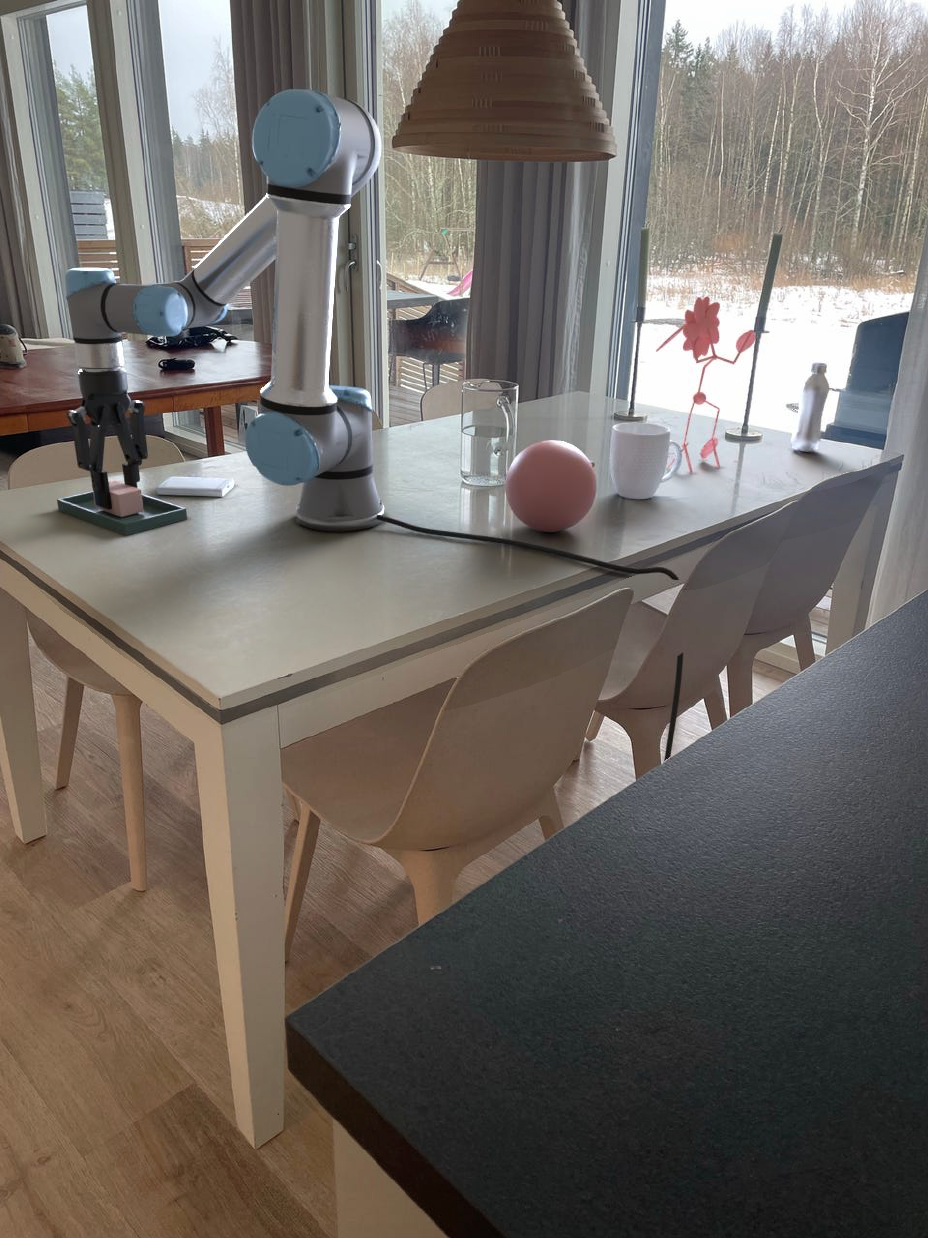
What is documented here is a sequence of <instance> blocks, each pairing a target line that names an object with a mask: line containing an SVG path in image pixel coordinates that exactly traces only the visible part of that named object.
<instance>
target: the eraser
mask: <svg viewBox="0 0 928 1238" xmlns="http://www.w3.org/2000/svg"><path fill="white" fill-rule="evenodd" d="M108 482H109V490H110V497H111V504H112V509H105V508H102V507H100V506H99V500H98V493H97V490H94V489H93V487H92V486H91V489H92V491H93V496H94V503H95V508H98V509H101V510H103V511H106V512H109V513H111V514H114V515H117V516H119V517H124V516H127V515H131V514H135V513H139V512H143V511H144V510H143V502H142V494H143V493H142V489H140V488H138V487H137V488H135V487H132V486H129V485H126V484H125V483H123V482H120V481H117V480H112V481H111V480H110V481H108Z"/></svg>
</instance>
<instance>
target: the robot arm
mask: <svg viewBox="0 0 928 1238" xmlns="http://www.w3.org/2000/svg"><path fill="white" fill-rule="evenodd" d="M252 150H253V154H254V158H255V160H256V163H257V164H258V165H259V166H260V168H261V172H262V173H263V174H264V175H265V176H266V195H265V196H264V197H263V198H262V199H261V200H260V201H259V202H258V203H257V204H256V205H255V206H254V207H253V208H252V209H251V210H250V211H249V212H248V213H247V214H246V215H245V216H243V218H242V219H241V220H240V221H239V222H238V223H237V224H236V225H235V226H234V227H233V228H232V229H231V230H230V231H229V232H228V233H227V234H226V235H225V236H224V237H223V238H222V239H221V240H220V241H219V242H218V243H217V244H216V245H215V246H214V247H213V248H212V249H211V250H210V251H209V252H208V253H207V254H206V255H205V256H204V257H203V258H202V260H200V261H199V263H197V264H196V265H195V267H194V268H193V269H192V270H190V272H188V274H187V275H185V276H184V277H183V279H181V280H176V281H168V282H157V283H148V284H147V283H146V284H135V283H133V284H132V283H128V284H127V283H118V282H117V280H116V277H115V273H114V271H113V270H112V269H110V268H103V267H102V268H101V267H77V268H76V267H75V268H70V269H68V270H67V271H66V272H65V275H64V279H65V281H64V282H65V299H66V304H67V307H68V313H69V319H70V325H71V333H72V341H73V347H74V355H75V362H76V366H77V367H78V368H80V369H79V370H78V371H77V377H78V378H77V379H78V383H79V384H78V385H79V391H80V393H81V397H82V398H81V402H80V406H79V407H78V408H76V409H74V410H69V409H68V410H67V411H66V417H67V419H68V421H69V423H70V425H71V431H72V437H73V443H74V450H75V456H76V457H75V458H76V463H77V467H78V469H81V470H84V471H87V472H89V474H90V480H91V488H92V487H93V488H92V490H93V489H94V490H97V493H98V500H99V506H100V507H102V508H105V509H112V504H111V497H110V490H109V482H110V481H109V476H108V471H106V470H103V469H104V468H103V466H104V455H105V441H106V433H107V432H108V427H109V426H111V427H113V429H114V432H115V434H116V437H117V440H118V444H119V446H120V448H121V451H122V453H123V457H124V460H125V463H122V464H121V467H122V474H123V475H122V476H123V482H124V483H123V484H126V485H129V486H132V487H135V488H138V483H139V482H140V481H141V476H140V474H141V473H140V467H139V466H142V464H143V460H147V459H148V457H149V451H148V444H147V443H148V442H147V434H146V425H145V417H144V416H145V413H146V412H145V411H146V403H145V402H143V401H140V400H131V397H130V396H129V394H128V390H129V385H128V376H127V370H126V369H125V368H124V366H125V365H126V358H125V351H124V343H123V337H122V336H123V335H122V334H133V335H141V336H143V335H144V336H152V337H154V338H161V337H175V336H178V335H179V334H180V333H181V331H183V330H185V329H193V328H198V327H200V328H204V327H209V326H211V325H213V324H216V323H219V322H220V321H222V320H224V318H225V317H226V315H227V313H228V309H229V304H230V303H231V301H232V300H233V299H235V297H237V296H238V295H239V294H240V293H241V292H242V291H243V290H244V289H245V288H246V287H248V285H249V284H251V282H253V281H254V280H255V279H256V278H257V277H258V276H259V275H260V274H261V273H262V272H264V271H265V269H266V268H267V267H269V265H270V264H272V263H273V262H274V260H275V262H274V263H275V264H274V287H273V288H274V291H273V292H274V293H273V315H272V316H273V318H272V346H271V349H272V350H271V367H270V368H271V371H270V372H271V374H270V381H269V382H268V383H267V384H265V386H264V387H262V388H261V389H260V393H259V413H258V414H257V415H256V416H255V417H254V418H253V419H252V420H251V421H250V423H249V424H248V426H247V427H246V430H245V436H244V446H245V450H246V454H247V457H248V459H249V461H250V462H251V465H252V466H253V467H255V468H256V470H257V471H258V473H259V474H260V475H261V476H262V477H263V478H265V479H266V480H268V481H269V482H272V483H274V484H276V485H279V486H286V487H287V486H289V487H290V486H295V485H296V486H297V485H299V484H302V483H303V484H302V489H301V494H300V499H299V501H298V503H297V505H296V509H295V511H296V521H297V523H298V524H300V526H303V527H305V528H308V529H312V530H315V531H321V532H323V531H324V532H353V531H361V530H366V529H369V528H373V527H376V526H377V525H380V524H381V523H382V522H384V523H388V524H392V525H394V526H398V527H400V528H403V529H407V530H410V531H412V532H417V533H422V534H427V535H433V536H441V537H450V538H456V539H464V540H472V541H480V542H488V543H495V544H501V545H506V546H507V545H508V546H512V547H518V548H522V549H527V550H531V551H537V552H542V553H546V554H549V555H550V554H551V555H554V556H557V557H562V558H566V559H570V560H573V561H578V562H581V563H586V564H590V565H594V566H597V567H600V568H601V567H602V568H605V569H608V570H613V571H617V572H621V573H622V572H623V573H627V574H633V575H646V574H647V575H648V574H655V573H657V574H658V573H660V574H664V575H666V576H668V577H669V578H670V579H671V580H673V581H679V580H680V578H679V576H678V575H676V573H675V572H674V571H672V570H671V569H669V568H667V567H664V566H649V567H631V566H625V565H621V564H616V563H612V562H608V561H604V560H601V559H596V558H592V557H588V556H584V555H581V554H576V553H572V552H568V551H565V550H561V549H557V548H553V547H548V546H544V545H540V544H535V543H530V542H524V541H520V540H515V539H509V538H504V537H503V538H502V537H496V536H490V535H481V534H473V533H465V532H458V531H450V530H442V529H434V528H428V527H423V526H418V525H415V524H411V523H408V522H406V521H402V520H398V519H395V518H394V517H388V516H386V515H385V506H384V504H383V503H384V502H382V500H381V497H380V494H379V489H378V486H377V484H376V480H375V478H374V469H373V467H374V463H373V462H374V461H373V455H374V453H373V413H374V409H373V407H372V397H371V394H370V392H369V391H368V390H367V389H365V388H362V387H357V386H356V387H355V386H347V385H333V384H332V385H329V377H330V376H329V375H330V374H329V372H330V359H331V358H330V357H331V345H332V344H331V343H332V329H333V328H332V327H333V315H334V313H333V311H334V298H335V297H334V295H335V284H336V283H335V282H336V281H335V280H336V265H337V251H338V234H339V219H340V218H341V216H342V215H343V214H344V213H345V212H346V211H347V210H348V209H350V208H351V202H352V201H351V200H352V198H353V197H354V196H355V195H356V194H357V193H359V191H360V190H361V189H362V188H363V187H365V185H366V184H367V183H368V182H369V181H370V180H371V179H372V177H373V176H374V174H375V172H376V171H377V169H378V167H379V164H380V160H381V155H382V137H381V133H380V129H379V127H378V125H377V123H376V121H375V119H374V118H373V116H372V115H371V113H370V112H369V111H368V109H366V108H365V107H364V106H362V105H361V104H360V103H358V102H356V101H354V100H352V99H349V98H345V97H339V96H335V95H332V94H327V93H325V92H321V91H318V90H313V89H310V88H308V89H301V88H299V89H297V88H292V89H286V90H282V91H279V92H278V93H275V95H272V96H271V97H270V98H269V99H268V101H267V102H266V103H264V104H263V106H262V107H261V109H260V110H259V112H258V114H257V116H256V118H255V122H254V125H253V129H252ZM128 412H129V421H128V419H127V416H126V415H127V413H128ZM86 415H87V417H88V418H89V426H88V427H89V430H90V434H89V436H88V428H87V424H86V421H87V418H86ZM129 424H130V425H129ZM129 426H130V429H129ZM683 666H684V652H681V653H680V654H679V655H677V657H676V667H675V668H676V669H675V670H676V671H675V680H674V690H673V698H672V705H671V712H670V718H669V719H670V720H669V727H668V732H667V740H666V746H665V753H664V760H663V762H664V761H665V760H666V759H668V758H669V757H670V758H671V755H672V749H673V742H674V737H675V730H676V725H677V724H676V723H677V717H678V710H679V704H680V696H681V695H680V694H681V686H682V677H683Z"/></svg>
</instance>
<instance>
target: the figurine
mask: <svg viewBox="0 0 928 1238" xmlns="http://www.w3.org/2000/svg"><path fill="white" fill-rule="evenodd" d="M710 300H711V298H710V297H709V295H707V296H705V297H703V299H702V298H701V296H697V298H696V299H695V301H694V305H693V311H692V310H691V309H686V310H685V312H684V322H685V323H684V324H683V325H682V326H681V327H679V328H678V329H677V330H675V332H673V333H672V334H671V335H670V336H669V337H668V338H667V339H665V340H664V341H663V343H661V345H660V346H659V347H658V348H657V349H656V350H655V352H656V353H658V352H659V351H661V349H663V348H664V347H665V346H666V345H668V344H669V343H670V342H671V341H672V340H674V338H676V337H677V336H678V335H679V334H680V333H681V332H682V334H683V336H684V338H685V340H684V341H683V344H682V345H683V346H682V350H683V351H684V352H689V351H692V358H693V359H694V360H695V363H696V364H699V363H703V362H706V361H708V362H706V363H704V365H703V366H702V369H701V370H702V371H701V375H700V378H699V379H700V380H699V385H698V390H697V392H696V393H694V394H693V396H692V405H691V408H690V412H689V414H688V418H687V422H686V423H687V424H686V427H685V428H686V429H685V434H684V438H683V439H684V440H683V445H682V446H681V448H682V449H681V451H682V452H683V451H684V454H685V458H686V462H687V467H688V469H689V473H690V474H693V468H692V464H691V459H690V456H689V452H688V448H687V446H688V445H689V444H690V442H687V443H686V441H687V436H688V431H689V426H690V422H691V416H692V413H693V410H694V406H695V405H699V406H700V405H701V406H702V404H703V405H704V403H706V404H708V405H710V406H711V407H713V408H715V409H716V410H717V412H716V418H715V422H714V425H713V426H714V427H713V431H712V434H711V435H712V436H711V439H709V440H708V441H707V442H706V443H705V444H704V445H703V446H702V448H701V449H700V453H699V455H700V457H701V460H705V459H706V458H708V457H709V455H711V454H712V453H713V454H714V459H715V462H716V466H717V468H720V467H721V463H720V461H719V457H718V452H717V446H718V444H719V439H718V438H717V437H715V433H716V429H717V425H718V419H719V416H720V415H719V414H720V412H721V408H720V407H718V406H716V405H715V404H712V402H709V401H707V395H706V393H705V392H703V391H701V388H702V384H703V380H704V377H705V372H706V369H707V367H708V366H709V365H710V364H711V363H712V362H714V361H716V360H720V361H721V362H722V361H723V362H725V363H728V364H731V365H736V363H737V360H738V359H739V357H740V355H742V353H743V352H745V351H747V350H748V349H750V348H751V347H752V346H753V344H754V343H755V342H756V338H757V337H756V332H754V330H753V329H750V330H749V331H745V332H743V333H742V334H741V335H740V336H739V337H738V338H737V339H736V341H735V349H736V351H737V354H736V355H735V358H734V360H733V361H732V360H730V359H727V358H725V357H721V356H718V355H717V354H716V350H715V346H714V345H717V344H718V343H719V342H720V331H719V327H720V324H721V323H720V319H719V317H718V314H719V311H720V309H721V303H720V302H718V301H714V302H712V303H710ZM709 349H711V353H712V355H711V356H708V357H706V356H707V355H708V353H709ZM701 356H703V357H704V358H700V357H701ZM699 358H700V359H699ZM671 455H676V452H675V453H673V452H672V453H671ZM675 458H676V456H675V457H674V458H673V459H672V460H671V462H670V463H669V465H668V466H667V468H670V467H671V466H672V465H673V464H674V463H675ZM734 462H735V463H737V464H740V462H739V461H736V460H734Z"/></svg>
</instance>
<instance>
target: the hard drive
mask: <svg viewBox="0 0 928 1238" xmlns="http://www.w3.org/2000/svg"><path fill="white" fill-rule="evenodd" d="M234 486H235V479H234V478H220V477H198V476H197V477H196V476H175V475H174V476H169V477H167V478H166V479H165V480H164V481H163V482H161V483H160V484H159V485H158V486H157V487H156V495H160V496H189V497H190V496H191V497H221V498H223V497H224V496H225V495H226V494H228V492H229V491H231V490H232V489H233V488H234Z"/></svg>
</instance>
